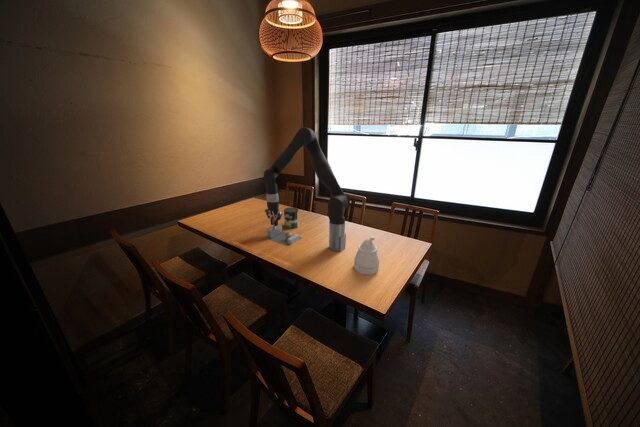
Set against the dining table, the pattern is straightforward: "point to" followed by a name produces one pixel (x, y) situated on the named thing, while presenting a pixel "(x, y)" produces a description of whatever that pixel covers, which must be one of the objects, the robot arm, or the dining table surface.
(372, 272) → the honey pot
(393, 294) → the dining table surface
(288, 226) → the coffee can
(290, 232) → the tan ball
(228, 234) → the dining table surface
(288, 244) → the nutcracker bench
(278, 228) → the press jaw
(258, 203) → the dining table surface
